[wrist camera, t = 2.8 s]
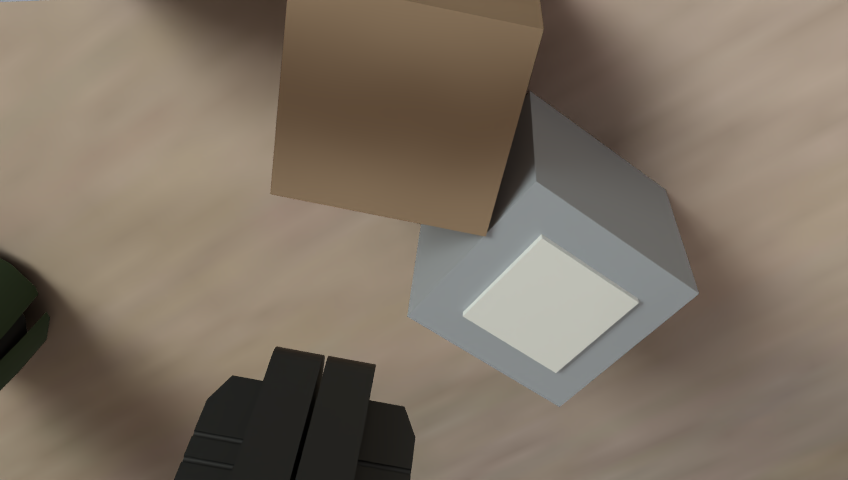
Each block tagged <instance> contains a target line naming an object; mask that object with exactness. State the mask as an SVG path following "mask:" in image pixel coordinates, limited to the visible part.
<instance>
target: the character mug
mask: <svg viewBox="0 0 848 480" xmlns="http://www.w3.org/2000/svg"><path fill="white" fill-rule="evenodd" d="M37 295H38V292H37V289H36V287H35V286H34V285H33V284H32V283H31V282H30V281H29V280H28V279H27V278H25V277H24V276H23V275H22V274H21V273H20V272H19V271H18V270H17V269H16V268H15V267H13V266H12V265H11V264H10V263H9V262H7V261H4V260H2V259H0V390H1V389H2V388H3V387H4V386H5V385H6V384H7V383H8V382H9V381H10V380H11V379H12V378H13V377H14V376H15V375H16V374H17V373H18V372H19V371H20V370H21V369H22V367H23V366H24V365H25V364H26V363H27V362H28V360H29V359H30V358H31V357H32V356H33V355H34V353H35V352H36V351H37V350H38V349H39V348H40V346H41V345H42V344H43V343H44V342H45V341H46V339H47V332H48V326H49V320H50V317H49V315H48V313H47V312H45V314H44V315H43V316H42V317H41V318H40V319H39V320H38V321H37V322H36V323H35V325H34V326H33V327H32V328H31V329H30V330H29V331H28V332H27V328H26V319H25V316H24V315H23V312H24V311H25V310H26V309H27V307H28V306H29V305H30V304H31V302H32V301H33V300H34V299H35V298H36V296H37Z"/></svg>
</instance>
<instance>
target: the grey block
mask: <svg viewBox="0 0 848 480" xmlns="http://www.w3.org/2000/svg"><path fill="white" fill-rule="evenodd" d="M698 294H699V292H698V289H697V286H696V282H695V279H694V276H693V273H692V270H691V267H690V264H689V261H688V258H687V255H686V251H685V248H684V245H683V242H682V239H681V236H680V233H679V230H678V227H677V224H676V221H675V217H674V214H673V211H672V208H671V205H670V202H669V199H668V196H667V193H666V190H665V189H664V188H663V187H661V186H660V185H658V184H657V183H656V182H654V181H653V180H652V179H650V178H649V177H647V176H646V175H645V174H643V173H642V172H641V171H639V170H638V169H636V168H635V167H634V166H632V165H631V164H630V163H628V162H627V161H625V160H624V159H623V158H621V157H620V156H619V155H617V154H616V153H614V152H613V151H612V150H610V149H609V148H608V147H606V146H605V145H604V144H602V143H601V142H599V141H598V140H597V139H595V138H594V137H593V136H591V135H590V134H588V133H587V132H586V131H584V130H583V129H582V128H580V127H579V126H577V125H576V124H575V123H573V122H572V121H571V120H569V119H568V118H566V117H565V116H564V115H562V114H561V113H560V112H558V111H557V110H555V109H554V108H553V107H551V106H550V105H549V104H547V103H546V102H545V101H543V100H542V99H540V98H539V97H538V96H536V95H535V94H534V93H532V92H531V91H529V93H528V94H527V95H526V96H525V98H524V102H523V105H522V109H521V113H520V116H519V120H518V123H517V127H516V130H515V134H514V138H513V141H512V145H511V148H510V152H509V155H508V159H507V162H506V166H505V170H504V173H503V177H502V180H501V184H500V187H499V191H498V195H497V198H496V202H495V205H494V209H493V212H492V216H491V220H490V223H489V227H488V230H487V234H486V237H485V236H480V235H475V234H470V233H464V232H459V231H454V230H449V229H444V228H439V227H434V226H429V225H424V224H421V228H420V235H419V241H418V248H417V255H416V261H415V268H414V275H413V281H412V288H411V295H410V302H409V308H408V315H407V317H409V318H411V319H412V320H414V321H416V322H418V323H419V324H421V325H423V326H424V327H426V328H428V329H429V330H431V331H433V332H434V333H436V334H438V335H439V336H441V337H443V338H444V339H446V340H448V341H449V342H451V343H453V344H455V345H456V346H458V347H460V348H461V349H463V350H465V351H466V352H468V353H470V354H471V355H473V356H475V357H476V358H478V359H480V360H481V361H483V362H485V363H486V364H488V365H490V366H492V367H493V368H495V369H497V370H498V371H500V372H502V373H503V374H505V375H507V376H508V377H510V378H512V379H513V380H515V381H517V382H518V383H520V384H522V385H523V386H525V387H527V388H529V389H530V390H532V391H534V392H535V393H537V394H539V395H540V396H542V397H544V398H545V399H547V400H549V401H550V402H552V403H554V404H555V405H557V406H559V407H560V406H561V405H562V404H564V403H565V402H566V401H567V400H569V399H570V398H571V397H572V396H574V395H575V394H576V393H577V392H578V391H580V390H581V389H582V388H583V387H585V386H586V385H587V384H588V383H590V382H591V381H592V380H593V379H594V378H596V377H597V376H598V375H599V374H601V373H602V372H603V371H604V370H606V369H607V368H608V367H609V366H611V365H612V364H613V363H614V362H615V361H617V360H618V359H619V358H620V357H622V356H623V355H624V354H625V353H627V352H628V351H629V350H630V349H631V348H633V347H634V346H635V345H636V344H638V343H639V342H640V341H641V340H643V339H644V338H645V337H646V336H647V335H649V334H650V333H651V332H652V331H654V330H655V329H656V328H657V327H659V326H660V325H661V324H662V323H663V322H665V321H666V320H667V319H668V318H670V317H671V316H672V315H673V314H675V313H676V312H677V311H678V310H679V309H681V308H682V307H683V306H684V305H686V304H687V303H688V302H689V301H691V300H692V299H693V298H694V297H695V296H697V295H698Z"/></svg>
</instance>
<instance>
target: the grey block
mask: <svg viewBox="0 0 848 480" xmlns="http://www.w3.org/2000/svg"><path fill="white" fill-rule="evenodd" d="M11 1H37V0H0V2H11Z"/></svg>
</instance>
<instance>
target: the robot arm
mask: <svg viewBox="0 0 848 480" xmlns="http://www.w3.org/2000/svg"><path fill="white" fill-rule="evenodd" d="M324 360H325V356H324V355H320V354H314V353H309V352H303V351H298V350H293V349H287V348H282V347H275V349H274V351H273V354H272V356H271V359H270V362H269V365H268V368H267V371H266V374H265V377H264V380H263V381H260V380H254V379H249V378H244V377H238V376H233V375H232V376H231V377H230V378H229V379H228V380H227V381H226V382H225V383H224V384H223V385H222V386H221V387H220V388H219V389H218V390H217V391H216V392H214V393H213V394H212V395H211V396H210V397H209V398H208V399H207V401H206V403H205V406H204V408H203V411H202V413H201V415H200V418H199V420H198V423H197V425H196V428H195V430H194V435H193V436H192V437H191V440H190V442H189V445H188V447H187V449H186V452H185V454H184V459H183V462H181V464H180V466H179V469H178V471H177V474H176V476H175V478H174V480H410V477H411V475H410V474H411V468H412V460H413V452H414V443H415V435H414V432H413V429H412V427H411V424H410V421H409V418H408V415H407V412H406V410H405V407H403V406H398V405H392V404H387V403H381V402H376V401H371V400H369V399H370V393H371V388H372V383H373V378H374V372H375V367H376V365H375V364H370V363H364V362H359V361H353V360H348V359H343V358H337V357H332V356H328V358H327V361H326V365H325V369H324V372H323V368H324ZM322 375H323V376H322Z"/></svg>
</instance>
